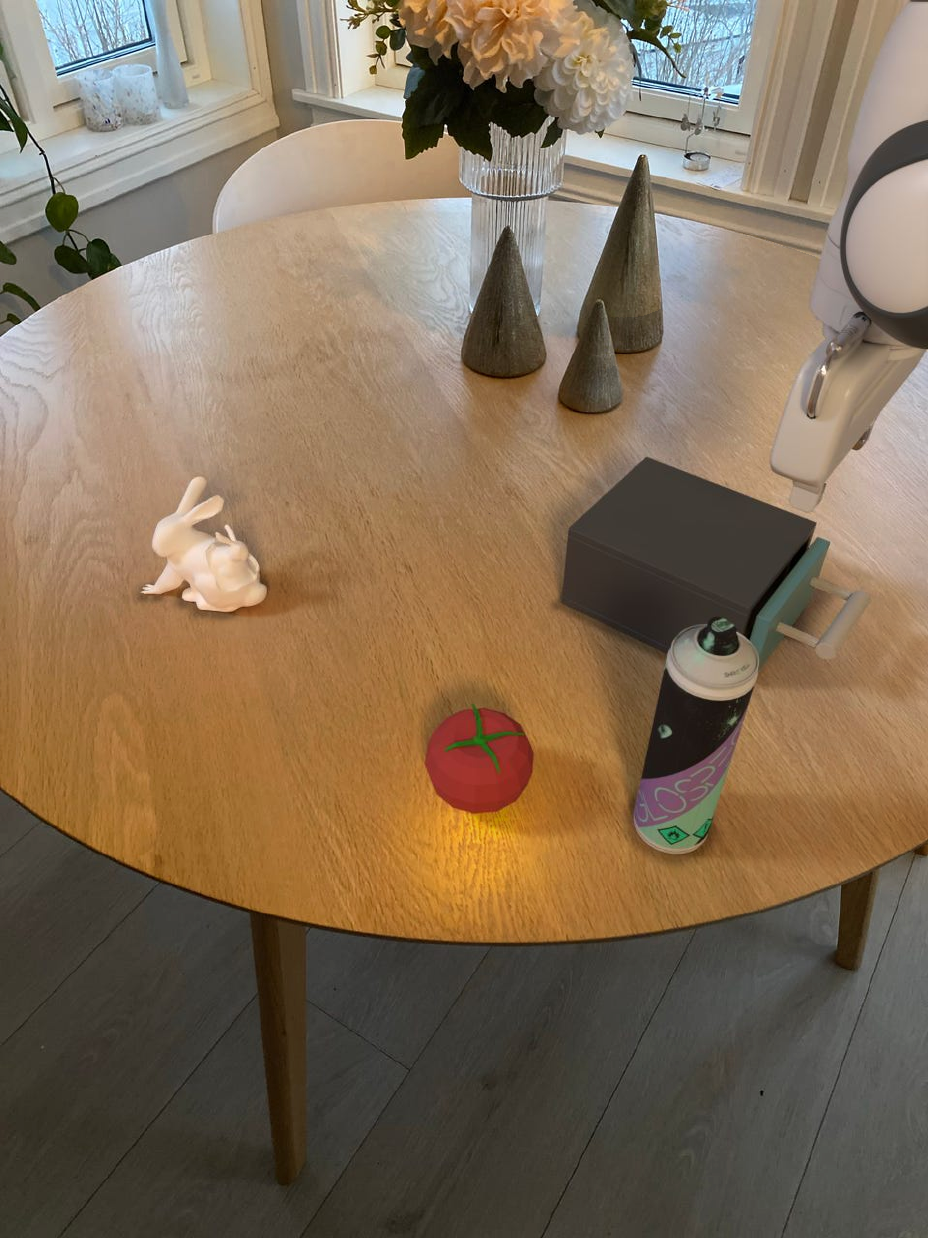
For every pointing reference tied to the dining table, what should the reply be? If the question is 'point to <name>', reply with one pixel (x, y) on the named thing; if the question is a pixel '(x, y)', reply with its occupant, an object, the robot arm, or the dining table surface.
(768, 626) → the drawer
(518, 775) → the tomato
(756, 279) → the dining table surface
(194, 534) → the rabbit figurine
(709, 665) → the spray can
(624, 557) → the cabinet
